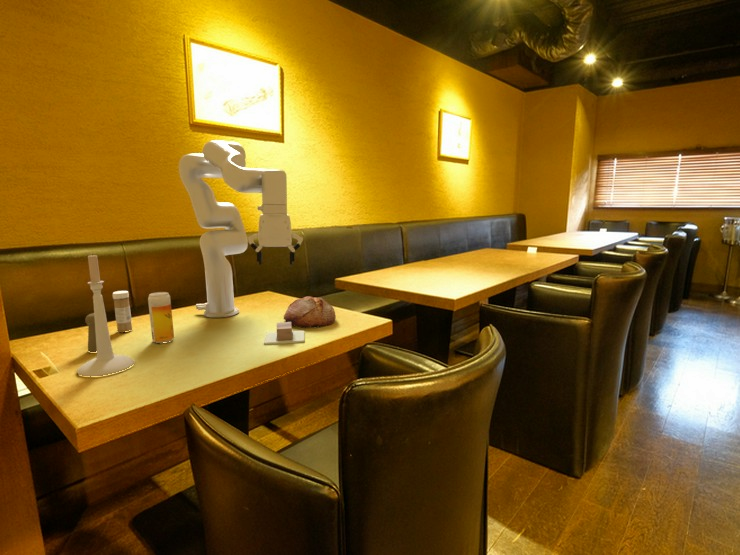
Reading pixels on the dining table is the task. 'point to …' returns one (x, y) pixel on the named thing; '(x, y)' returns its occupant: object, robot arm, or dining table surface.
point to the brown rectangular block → (284, 331)
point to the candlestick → (102, 333)
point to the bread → (310, 312)
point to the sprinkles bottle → (122, 311)
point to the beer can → (161, 317)
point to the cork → (91, 332)
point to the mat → (272, 339)
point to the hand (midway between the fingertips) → (276, 263)
